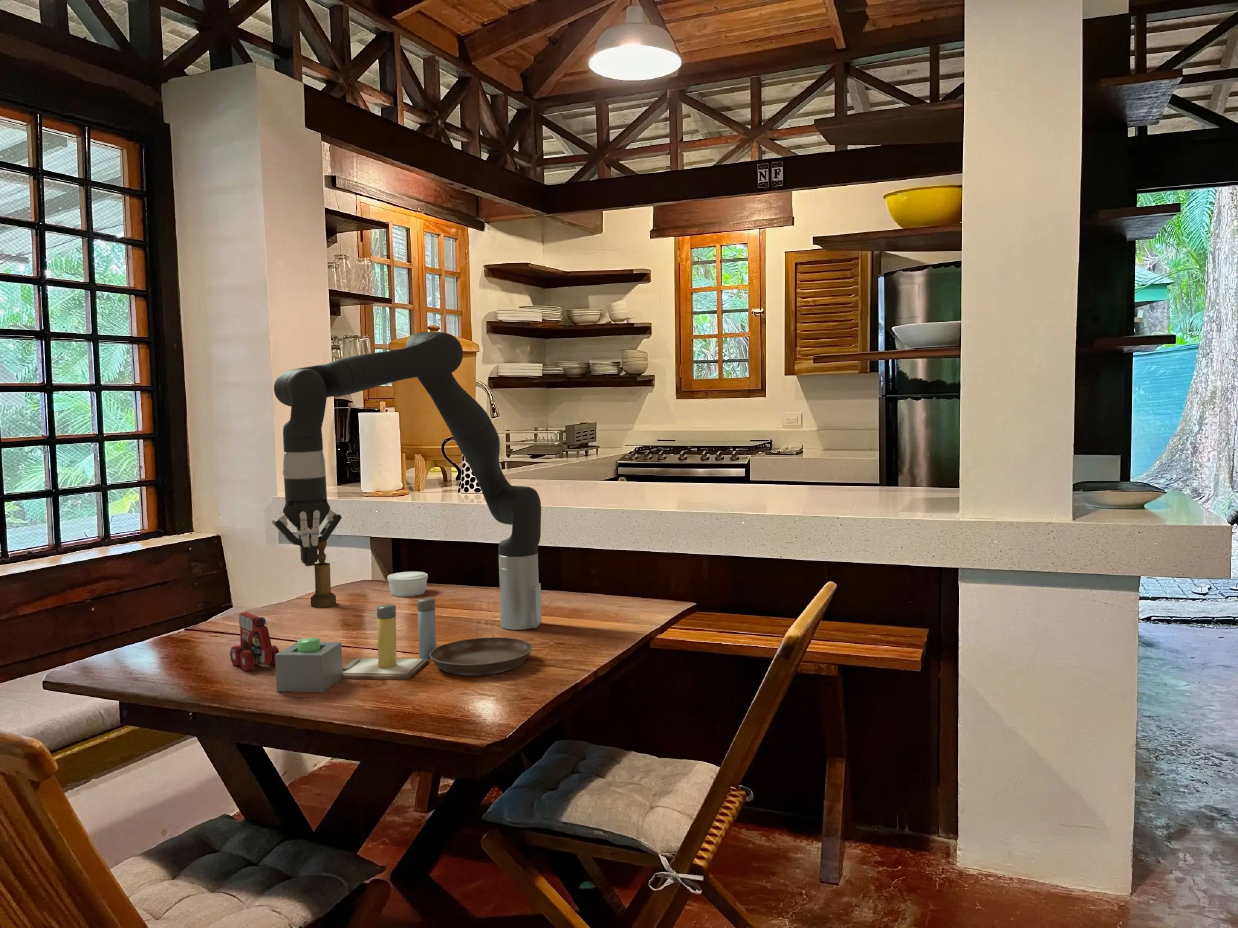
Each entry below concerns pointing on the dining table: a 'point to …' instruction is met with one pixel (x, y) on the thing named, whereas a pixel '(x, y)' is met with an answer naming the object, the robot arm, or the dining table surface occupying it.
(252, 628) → the toy fire truck
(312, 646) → the button
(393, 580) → the ramekin
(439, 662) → the plant saucer
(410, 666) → the sketch pad
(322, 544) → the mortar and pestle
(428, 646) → the slate
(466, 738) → the dining table surface
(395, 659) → the marker mustard
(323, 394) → the robot arm
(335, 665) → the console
